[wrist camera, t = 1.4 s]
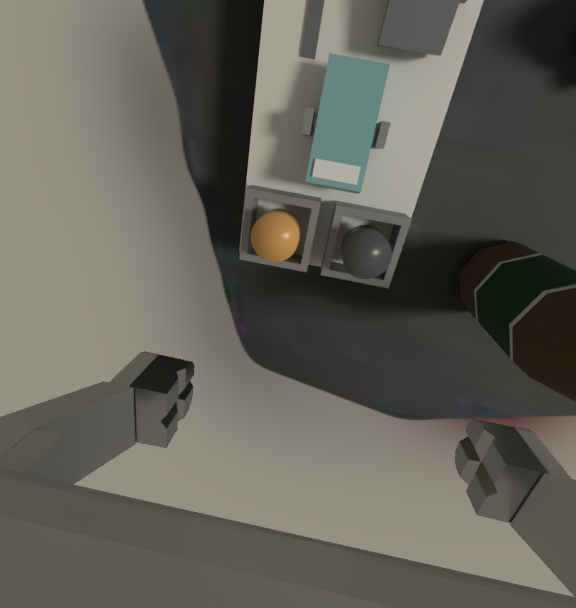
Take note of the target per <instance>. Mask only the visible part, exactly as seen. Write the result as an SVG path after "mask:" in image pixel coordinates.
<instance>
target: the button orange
mask: <svg viewBox="0 0 576 608" xmlns="http://www.w3.org/2000/svg"><path fill="white" fill-rule="evenodd" d="M300 235H301V228H300V224H299V221H298V220H297V218H296V217H295V216H294V215H293V214H292V213H291V212H289V211H287V210H285V209H280V208H276V209H271V210H269V211H267V212H266V213H264V214H263V215H262V216H261V217H260V218H259V219H258V220H257V222H256V223H255V224H254V226H253V228H252V231H251V243H252V246H253V248H254V250H255V252H256V253H257V254H258V255H259V256H260V257H262V258H263V259H265V260H268V261H271V262H280V261H283V260H286V259H288V258H289V257H290V256H291V255H292V254H293V253H294V252H295V250H296V248H297V245H298V242H299V239H300Z"/></svg>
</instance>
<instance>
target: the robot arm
mask: <svg viewBox="0 0 576 608" xmlns="http://www.w3.org/2000/svg"><path fill="white" fill-rule="evenodd" d="M193 375H194V364H193V362H191V361H186V360H181V359H177V358H173V357H168V356H164V355H159V354H154V353H149V352H141V353H139V354H138V355H137V356H136V357H135V358H134V359H133V360H132V361H131V362H130V363H129V364H128V365H127V366H126V367H125V368H124V369H123V370H122V371H120V372H119V373H118V374H117V375H116V376H115V377H114V378H113V379H112V380H111V381H110V382H109V383H108V382H101V383H98V384H95V385H92V386H90V387H86V388H84V389H81V390H78V391H75V392H72V393H69V394H66V395H63V396H60V397H57V398H54V399H52V400H49V401H46V402H43V403H40V404H37V405H34V406H31V407H28V408H25V409H23V410H20V411H16V412H13V413H11V414H8V415H5V416H2V417H0V608H576V480H574V479H571V477H570V476H569V475H568V474H567V473H566V471H565V470H564V469H563V467H562V466H561V465H560V464H559V462H558V461H557V460H556V459H555V458H554V456H553V455H552V454H551V452H550V451H549V450H548V449H547V448H546V446H545V445H544V444H543V443H542V441H541V440H540V439H539V438H538V436H537V435H536V434H535V433H534V432H533V431H531V430H529V429H526V428H520V427H514V426H506V425H500V424H495V423H490V422H485V421H480V420H475V419H473V420H472V421H471V422H469V423H468V426H467V427H466V429H465V430H466V433H467V436H468V437H466V438H465V439H463V440H461V441H460V442H459V444H458V446H457V448H456V451H455V464H456V469H457V471H458V473H459V476H460V477H461V478H462V479H463V480H464V481H465V482H466V483H467V484H468V488H467V490H466V492H467V494H468V497H469V498H470V501H471V503H472V506H473V508H474V510H475V512H476V515H479V516H483V517H487V518H491V519H495V520H500V521H504V522H508V523H511V524H510V525H511V526H512V528H514V530H515V531H516V532H517V533H518V534H519V535H520V536H521V538H522V539H523V540H524V541H525V542H526V543H527V544H528V545H529V546H530V548H531V549H532V550H533V551H534V552H535V553H536V554H537V555H538V556H539V558H540V559H542V561H543V562H544V563H545V564H546V565H547V566H548V568H549V569H550V570H551V571H552V572H553V573H554V574H555V575H556V576H557V577H558V579H559V580H560V581H561V582H562V583H563V584H564V585H565V586H566V587H567V589H568V590H569V591H570V592H571V593H572V594H573V595H574V596H575V597H571V596H567V595H562V594H558V593H553V592H549V591H544V590H540V589H536V588H531V587H527V586H522V585H518V584H513V583H509V582H505V581H500V580H496V579H491V578H487V577H482V576H478V575H473V574H469V573H464V572H460V571H456V570H451V569H447V568H442V567H438V566H433V565H429V564H424V563H420V562H416V561H411V560H407V559H402V558H398V557H393V556H388V555H384V554H380V553H375V552H370V551H366V550H361V549H358V548H353V547H349V546H344V545H340V544H335V543H331V542H326V541H322V540H318V539H313V538H308V537H304V536H300V535H295V534H291V533H286V532H282V531H277V530H273V529H269V528H264V527H260V526H255V525H250V524H246V523H242V522H237V521H233V520H228V519H224V518H220V517H215V516H210V515H206V514H202V513H197V512H193V511H188V510H184V509H179V508H175V507H170V506H166V505H161V504H157V503H153V502H148V501H144V500H139V499H135V498H130V497H126V496H121V495H117V494H113V493H108V492H103V491H99V490H95V489H90V488H86V487H81V486H77V485H73V484H75V483H76V482H78V481H79V480H81V479H82V478H84V477H85V476H87V475H88V474H90V473H91V472H93V471H95V470H96V469H98V468H99V467H100V466H102V465H104V464H105V463H107V462H109V461H110V460H111V459H113V458H115V457H116V456H118V455H119V454H121V453H122V452H124V451H125V450H127V449H129V448H130V447H132V446H133V445H135V442H138V443H143V444H149V445H153V446H159V447H164V448H166V447H167V446H168V444H169V443H170V441H171V439H172V437H173V436H174V434H175V432H176V431H177V422H178V421H179V420H181V419H183V418H184V417H185V415H186V414H187V412H188V409H189V407H190V404H191V401H192V395H193V385H192V384H191V382H190V380H191V378H192V377H193Z"/></svg>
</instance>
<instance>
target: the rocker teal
mask: <svg viewBox="0 0 576 608" xmlns="http://www.w3.org/2000/svg"><path fill="white" fill-rule="evenodd" d="M389 66H390V64H388V63H382V62H376V61H371V60H365V59H360V58H354V57H348V56H343V55H337V54H331V53H329V58H328V63H327V68H326V74H325V79H324V85H323V90H322V95H321V101H320V106H319V111H318V115H315V118H314V123H313V130H312V131H315V133H314V138H313V144H312V149H311V154H310V160H309V165H308V170H307V176H306V181H305V182H306V184H307V185H313V186H318V187H323V188H329V189H334V190H339V191H345V192H350V193H355V194H359V193H360V192H361V189H362V184H363V180H364V176H365V171H366V167H367V163H368V158H369V154H370V149H371V145H372V142H374V141H375V138H376V134H377V130H378V126H376V123H377V119H378V114H379V110H380V106H381V101H382V97H383V93H384V88H385V84H386V80H387V75H388V71H389Z"/></svg>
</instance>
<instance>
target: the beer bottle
mask: <svg viewBox="0 0 576 608" xmlns="http://www.w3.org/2000/svg"><path fill="white" fill-rule="evenodd" d="M458 278H459V289H460V299H461V301H462V303H463V304H464V305H465V307H466V308H467V309H468V310H469V312H470V313H471V314H472V315H473V316H474V317H475V318H476V320H477V321H478V322H479V323H480V324H481V325H482V326H483V328H484V329H485V330H486V331H487V332H488V333H489V335H490V336H491V337H492V338H493V339H494V340H495V341H496V343H497V344H498V345H499V346H500V347H501V348H502V349H503V351H504V352H505V353H506V354H507V355H508V356H509V357H510V359H511V360H512V361H513V362H514V363H515V364H516V365H517V366H518V367H520V368H521V369H522V370H523V371H524V372H525V373H526V374H527V375H528V376H529V377H531V378H533V379H535V380H537V381H538V382H540V383H542V384H544V385H546V386H547V387H549V388H551V389H553V390H555V391H556V392H558V393H560V394H562V395H564V396H566V397H568V398H570V399H572V400H574V401H576V271H575V270H573V269H571V268H569V267H567V266H565V265H563V264H561V263H558V262H556V261H554V260H552V259H550V258H548V257H546V256H544V255H542V254H540V253H538V252H536V251H534V250H532V249H530V248H528V247H526V246H524V245H521V244H519V243H516V242H513V241H512V242H508V243H504V244H499V245H495V246H491V247H487V248H482V249H479V250H478V251H477V252H476V253H475V254H474V255H473V257H472V258H471V259H470V260H469V261H468V262H467V264H466V265H465V266H464V267H463V268H462V270H461V271H460V272H459V273H458Z"/></svg>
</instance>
